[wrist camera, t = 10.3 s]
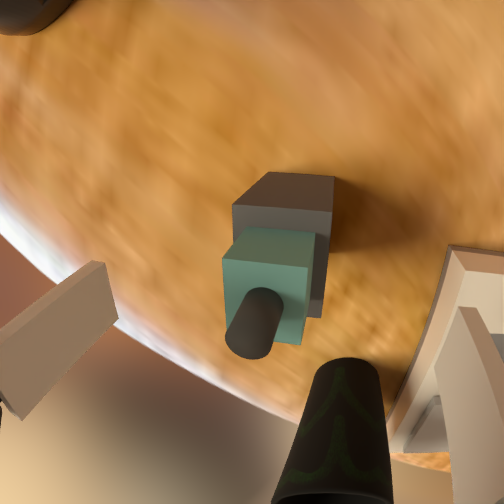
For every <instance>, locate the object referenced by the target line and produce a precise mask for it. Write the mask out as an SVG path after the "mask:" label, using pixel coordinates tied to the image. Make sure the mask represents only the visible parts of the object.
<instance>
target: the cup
mask: <svg viewBox="0 0 504 504" xmlns="http://www.w3.org/2000/svg"><path fill="white" fill-rule="evenodd" d="M271 504H394V501H393V486H392V474H391V464H390V453H389V444H388V436H387V428H386V420H385V413H384V406H383V400H382V393H381V387H380V381H379V375H378V373H377V370H376V369H375V368H374V367H373V365H371V364H370V363H368V362H366V361H364V360H361V359H357V358H339V359H334V360H332V361H329V362H327V363H325V364H324V365H322V366H321V367H320V368H319V369H318V370H317V372H316V374H315V376H314V379H313V383H312V386H311V389H310V393H309V396H308V399H307V402H306V406H305V409H304V412H303V415H302V418H301V421H300V424H299V427H298V430H297V433H296V436H295V439H294V442H293V445H292V447H291V450H290V453H289V456H288V459H287V461H286V464H285V467H284V470H283V472H282V475H281V477H280V480H279V483H278V485H277V488H276V490H275V493H274V496H273V498H272V500H271Z"/></svg>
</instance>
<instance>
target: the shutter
mask: <svg viewBox="0 0 504 504" xmlns="http://www.w3.org/2000/svg"><path fill="white" fill-rule="evenodd" d="M432 452H449V446H448V439H447V432H446V426H445V420H444V414H443V408H442V403H441V398H440V397H433V398H432V400H431V402H430V404H429V405H428V407H427V409H426V411H425V412H424V414H423V416H422V417H421V419H420V421H419V422H418V424H417V425H416V427H415V428H414V430H413V432H412V433H411V435H410V436H409V438H408V439H407V441H406V442H405V444H404V445H403V453H432Z"/></svg>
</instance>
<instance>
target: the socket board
mask: <svg viewBox="0 0 504 504" xmlns="http://www.w3.org/2000/svg"><path fill="white" fill-rule="evenodd" d="M458 306H462V307H475V308H477V310H478V312H479V314H480V315H481V317H482V319H483V321H484V323H485V325H486V327H487V329H488V331H489V333H490V335H491V337H492V339H493V341H494V343H495V346H496V348H497V350H498V352H499V354H500V356H501V359H502V361H503V363H504V252H497V251H490V250H483V249H475V248H468V247H460V246H452V245H449V246H448V250H447V254H446V258H445V262H444V266H443V270H442V273H441V277H440V281H439V284H438V288H437V291H436V294H435V298H434V301H433V304H432V307H431V310H430V313H429V316H428V319H427V322H426V325H425V328H424V331H423V333H422V336H421V339H420V342H419V344H418V347H417V350H416V352H415V355H414V357H413V360H412V362H411V365H410V367H409V369H408V372H407V374H406V376H405V379H404V381H403V383H402V386H401V388H400V390H399V392H398V394H397V397H396V399H395V401H394V403H393V405H392V407H391V409H390V411H389V413H388V415H387V417H386V419H385V420H386V428H387V436H388V444H389V453H403V445H404V444H405V442H406V441H407V439H408V438H409V436H410V435H411V433H412V432H413V430H414V428H415V427H416V425H417V424H418V422H419V421H420V419H421V417H422V416H423V414H424V412H425V411H426V409H427V407H428V405H429V404H430V402H431V400H432V398H433V397H440V393H439V388H438V383H437V379H436V374H435V370H434V365H435V363H436V361H437V359H438V356H439V354H440V352H441V349H442V347H443V345H444V342H445V340H446V337H447V335H448V332H449V330H450V327H451V324H452V322H453V319H454V316H455V313H456V311H457V308H458Z"/></svg>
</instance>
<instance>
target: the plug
mask: <svg viewBox="0 0 504 504" xmlns="http://www.w3.org/2000/svg"><path fill="white" fill-rule="evenodd" d="M334 178H335V176H323V175H310V174H296V173H279V172H268V173H266V174H265V175H264V176H263V177H262V178H261V179H260V180H259V181H257V182H256V183H255V184H254V185H253V186H252V187H251V188H250V189H249V190H247V191H246V192H245V193H244V194H243V195H242V196H241V197H240V198H239V199H237V200H236V201H235V202H234V203H233V204H232V217H233V245H232V246H231V247H230V249H229V250H228V251H227V253H226V254H225V255H224V256H223V258H222V266H223V283H224V299H225V313H226V327H227V331H226V334H225V341H226V343H227V345H228V347H229V348H230V349H231V350H232V351H233V352H234V353H235V354H237V355H238V356H240V357H243V358H246V359H260V358H263V357H265V356H266V355H268V353H269V352H270V350H271V347H272V344H273V341H274V342H281V343H288V344H295V345H301V341H302V336H303V331H304V326H305V321H306V317H313V318H321V314H322V307H323V299H324V291H325V282H326V274H327V265H328V255H329V245H330V234H331V223H332V210H333V196H334Z"/></svg>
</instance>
